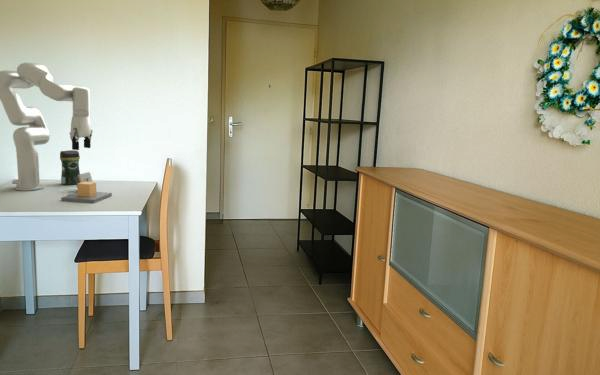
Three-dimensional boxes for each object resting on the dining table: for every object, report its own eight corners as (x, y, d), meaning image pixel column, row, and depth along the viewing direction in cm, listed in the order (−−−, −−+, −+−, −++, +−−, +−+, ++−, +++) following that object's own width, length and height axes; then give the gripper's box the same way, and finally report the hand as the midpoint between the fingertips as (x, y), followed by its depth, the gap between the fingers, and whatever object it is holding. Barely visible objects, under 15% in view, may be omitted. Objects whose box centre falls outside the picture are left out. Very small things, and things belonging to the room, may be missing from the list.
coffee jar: (76, 181, 265) (75, 149, 262) (83, 184, 260) (81, 150, 256) (59, 183, 258) (57, 150, 254) (64, 185, 253) (63, 151, 249)
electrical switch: (84, 192, 239) (81, 174, 237) (74, 192, 240) (72, 174, 238) (94, 189, 248) (92, 172, 247) (86, 189, 249) (84, 172, 247)
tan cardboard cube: (77, 195, 224) (77, 183, 223) (84, 193, 230) (84, 181, 228) (89, 196, 223) (89, 184, 222) (96, 194, 229) (96, 182, 228)
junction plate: (61, 200, 219) (60, 187, 218) (81, 193, 236) (81, 181, 234) (93, 203, 218) (93, 189, 216) (111, 195, 234) (111, 183, 233)
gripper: (84, 112, 233) (84, 146, 236) (62, 113, 216) (63, 149, 220) (98, 113, 232) (98, 147, 236) (78, 114, 215) (78, 151, 219)
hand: (81, 148), depth 228 cm, fingers open, 9 cm apart
